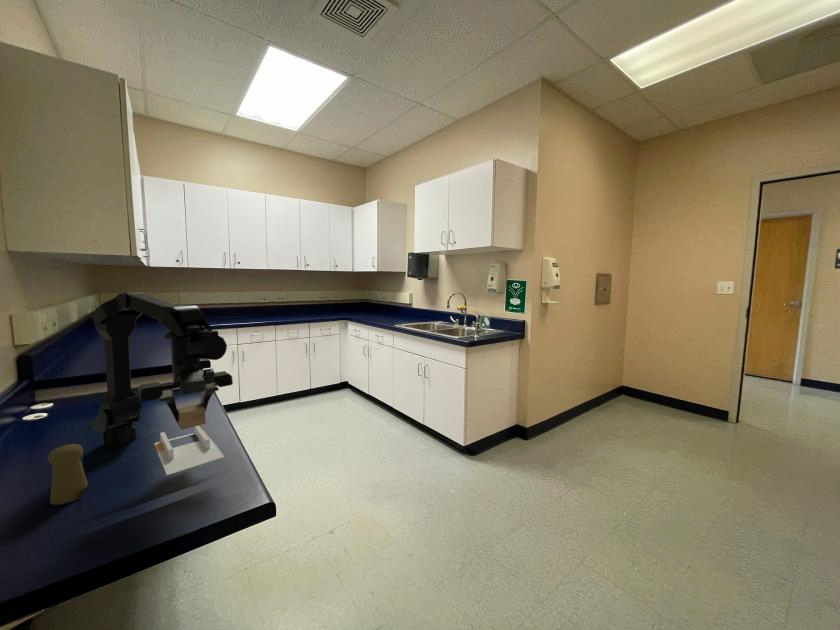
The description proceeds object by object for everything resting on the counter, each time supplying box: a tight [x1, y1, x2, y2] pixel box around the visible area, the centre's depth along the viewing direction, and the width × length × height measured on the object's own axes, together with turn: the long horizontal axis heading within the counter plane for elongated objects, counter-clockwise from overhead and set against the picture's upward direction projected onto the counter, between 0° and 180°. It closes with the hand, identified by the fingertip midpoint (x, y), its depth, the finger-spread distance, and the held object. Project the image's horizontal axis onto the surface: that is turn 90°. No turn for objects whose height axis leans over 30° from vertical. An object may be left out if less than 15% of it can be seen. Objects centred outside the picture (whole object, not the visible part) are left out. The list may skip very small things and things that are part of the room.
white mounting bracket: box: [153, 425, 225, 476], centre depth 92 cm, size 22×12×4 cm, turn 44°
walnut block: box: [176, 401, 207, 431], centre depth 85 cm, size 6×5×4 cm
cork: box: [47, 443, 89, 506], centre depth 74 cm, size 6×6×11 cm
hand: (190, 418), depth 86 cm, fingers closed on walnut block, 5 cm apart
